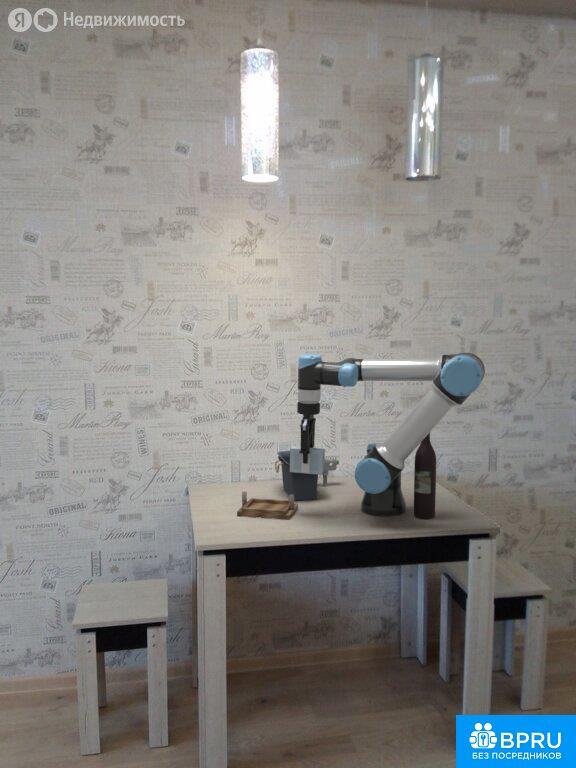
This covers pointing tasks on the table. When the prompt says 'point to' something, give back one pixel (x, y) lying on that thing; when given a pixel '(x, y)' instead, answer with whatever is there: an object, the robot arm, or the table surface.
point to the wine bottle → (425, 480)
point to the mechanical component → (329, 469)
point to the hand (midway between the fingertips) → (306, 470)
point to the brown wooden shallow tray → (267, 507)
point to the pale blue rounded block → (315, 460)
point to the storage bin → (297, 480)
